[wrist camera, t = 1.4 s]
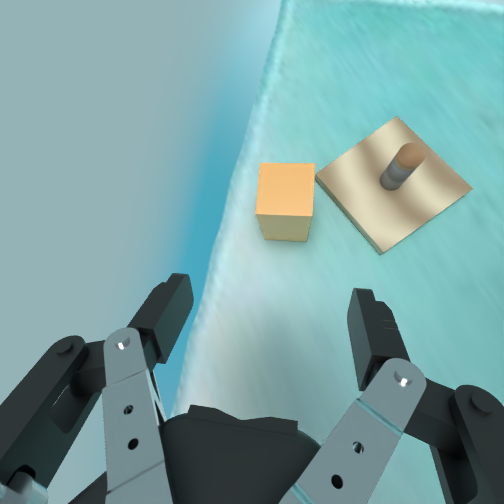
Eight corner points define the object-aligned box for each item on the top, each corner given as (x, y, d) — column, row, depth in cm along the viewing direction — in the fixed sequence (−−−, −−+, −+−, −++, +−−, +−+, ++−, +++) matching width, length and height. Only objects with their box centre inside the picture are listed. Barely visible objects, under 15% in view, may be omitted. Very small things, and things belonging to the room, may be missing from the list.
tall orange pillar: (308, 202, 36) (315, 163, 26) (306, 241, 35) (312, 216, 25) (268, 201, 37) (260, 162, 27) (264, 239, 36) (255, 214, 26)
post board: (392, 123, 36) (418, 77, 29) (464, 193, 33) (514, 162, 26) (314, 178, 36) (320, 146, 29) (379, 254, 33) (405, 240, 26)
